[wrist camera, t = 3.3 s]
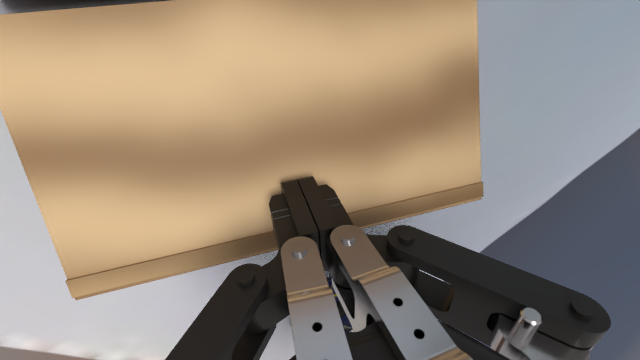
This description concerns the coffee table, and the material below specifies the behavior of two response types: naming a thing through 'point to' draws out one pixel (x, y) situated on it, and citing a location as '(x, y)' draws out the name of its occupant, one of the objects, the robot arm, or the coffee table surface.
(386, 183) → the plank
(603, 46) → the coffee table surface
